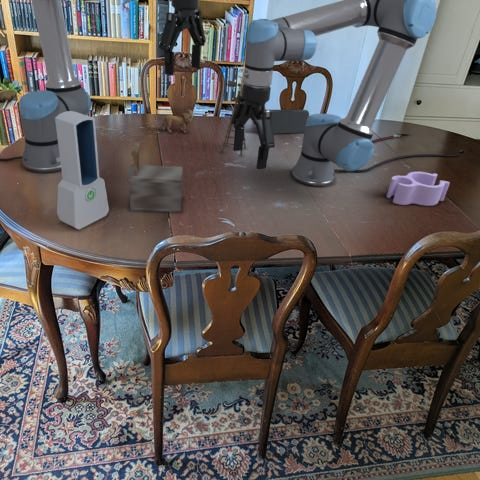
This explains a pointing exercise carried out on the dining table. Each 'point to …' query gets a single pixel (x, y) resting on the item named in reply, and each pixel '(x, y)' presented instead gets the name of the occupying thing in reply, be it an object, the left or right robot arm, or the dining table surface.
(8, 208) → the dining table surface
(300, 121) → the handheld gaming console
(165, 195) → the chest
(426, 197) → the clip
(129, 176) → the grey piece
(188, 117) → the lion figurine
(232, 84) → the miniature windmill
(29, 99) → the left robot arm
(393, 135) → the paintbrush
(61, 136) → the electronic device
